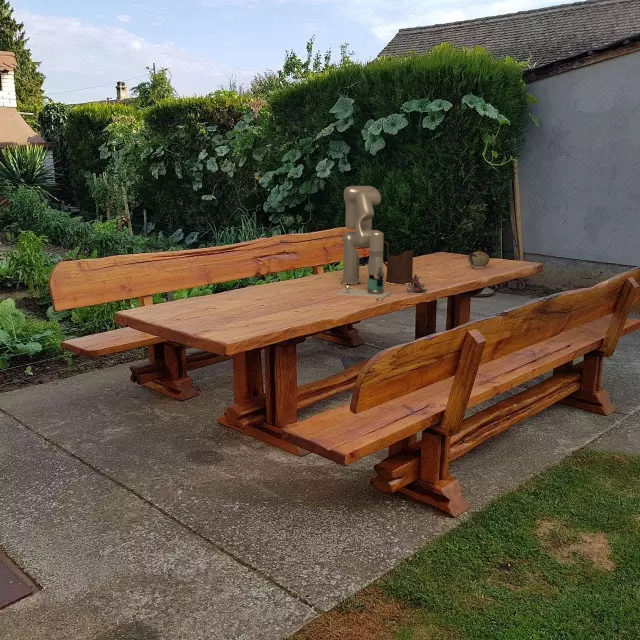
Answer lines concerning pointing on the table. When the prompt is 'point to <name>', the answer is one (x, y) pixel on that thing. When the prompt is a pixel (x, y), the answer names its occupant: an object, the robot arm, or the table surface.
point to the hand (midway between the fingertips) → (375, 285)
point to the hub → (375, 291)
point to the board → (363, 293)
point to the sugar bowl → (478, 258)
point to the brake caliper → (416, 285)
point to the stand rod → (347, 288)
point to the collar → (374, 284)
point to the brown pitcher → (399, 267)
